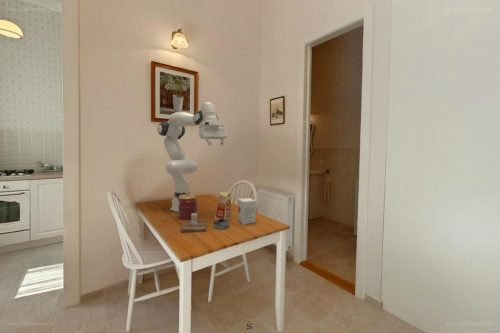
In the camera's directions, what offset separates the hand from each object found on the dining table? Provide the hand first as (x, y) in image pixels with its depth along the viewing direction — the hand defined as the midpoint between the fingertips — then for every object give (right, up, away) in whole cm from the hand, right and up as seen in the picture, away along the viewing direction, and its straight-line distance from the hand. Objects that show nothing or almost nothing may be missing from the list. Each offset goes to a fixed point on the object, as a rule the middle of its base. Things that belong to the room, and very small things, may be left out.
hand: (216, 144), depth 143 cm
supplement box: (+20, -51, +2) cm, 55 cm away
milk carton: (+4, -50, +9) cm, 51 cm away
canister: (-22, -50, +10) cm, 55 cm away
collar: (+4, -51, -9) cm, 52 cm away
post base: (-12, -51, -11) cm, 54 cm away
